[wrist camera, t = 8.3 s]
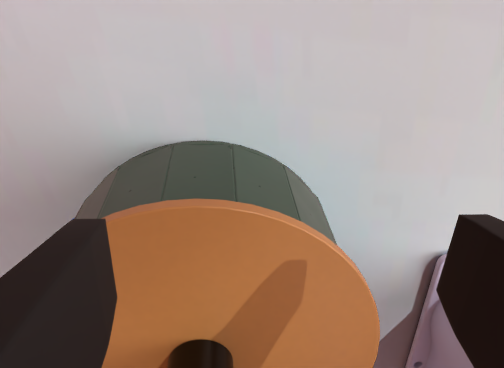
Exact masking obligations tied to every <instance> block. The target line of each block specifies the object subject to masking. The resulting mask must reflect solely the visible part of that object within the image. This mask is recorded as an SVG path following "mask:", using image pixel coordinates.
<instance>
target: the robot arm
mask: <svg viewBox="0 0 504 368" xmlns="http://www.w3.org/2000/svg"><path fill="white" fill-rule="evenodd" d="M116 303H117V291H116V285H115V278H114V272H113V265H112V258H111V252H110V245H109V239H108V232H107V226H106V219H73V220H71V221H70V222H69V223H67V224H66V225H65V226H63V227H62V228H61V229H60V230H58V231H57V232H56V233H55V234H54V235H52V236H51V237H50V238H49V239H47V240H46V241H45V242H44V243H43V244H41V245H40V246H39V247H38V248H37V249H35V250H34V251H33V252H32V253H31V254H29V255H28V256H27V257H26V258H24V259H23V260H22V261H21V262H19V263H18V264H17V265H16V266H14V267H13V268H12V269H11V270H9V271H8V272H7V273H6V274H4V275H3V276H2V277H1V278H0V368H102V365H103V362H104V359H105V356H106V352H107V349H108V346H109V341H110V336H111V331H112V326H113V321H114V315H115V309H116ZM405 368H504V221H502V220H500V219H497V218H495V217H492V216H490V215H487V214H483V215H459V217H458V220H457V223H456V227H455V230H454V233H453V236H452V240H451V243H450V246H449V249H448V253H447V254H444V255H442V256H441V257H440V258H439V259H438V260H437V263H436V266H435V269H434V273H433V276H432V279H431V283H430V286H429V290H428V293H427V296H426V300H425V303H424V306H423V310H422V313H421V316H420V320H419V323H418V327H417V330H416V333H415V337H414V340H413V343H412V347H411V350H410V353H409V357H408V360H407V364H406V367H405Z"/></svg>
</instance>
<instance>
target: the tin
mask: <svg viewBox="0 0 504 368" xmlns="http://www.w3.org/2000/svg"><path fill="white" fill-rule="evenodd" d="M181 199H216V200H228V201H234V202H241V203H247V204H253V205H256V206H260V207H263V208H267V209H270V210H274V211H277V212H280V213H282V214H285V215H287V216H289V217H292V218H294V219H296V220H299V221H301V222H303V223H305V224H306V225H308V226H310V227H311V228H313V229H315V230H317V231H318V232H320V233H322V234H323V235H325V236H326V237H327V238H328V239H330V240H331V241H332V242H333V243H335V244H336V241H335V239H334V236H333V234H332V231H331V229H330V226H329V224H328V221H327V219H326V216H325V214H324V211H323V209H322V206H321V204H320V201H319V199H318V197H317V196H316V195H315V194H314V193H312V191H311V190H310V188H309V187H308V186H307V185H306V184H305V183H304V182H303V180H302V179H301V178H300V177H299V176H297V175H296V174H295V173H294V172H293V171H292V170H290V169H289V168H288V167H287V166H285V165H283V164H282V163H280V162H279V161H277V160H275V159H274V158H272V157H270V156H268V155H265V154H263V153H261V152H259V151H256V150H253V149H250V148H247V147H244V146H241V145H236V144H230V143H225V142H215V141H191V142H181V143H175V144H170V145H165V146H162V147H158V148H155V149H152V150H149V151H146V152H144V153H142V154H140V155H138V156H136V157H133V158H131V159H130V160H128V161H127V162H125V163H124V164H122V165H120V166H119V167H117V168H116V169H115V170H114V171H113V172H111V173H110V174H109V175H108V176H107V177H106V178H104V180H103V181H102V182H101V183H100V184H99V185H98V187H97V188H96V189H95V190H94V191H93V193H92V194H91V195H90V196H89V197H88V198H87V199H86V200H85V201H84V203H83V205H82V207H81V209H80V211H79V213H78V215H77V217H76V219H101V218H103V217H106V216H108V215H110V214H113V213H116V212H119V211H122V210H126V209H129V208H132V207H136V206H139V205H144V204H150V203H155V202H161V201H167V200H181ZM336 245H337V244H336Z"/></svg>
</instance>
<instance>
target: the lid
mask: <svg viewBox="0 0 504 368" xmlns="http://www.w3.org/2000/svg"><path fill="white" fill-rule="evenodd" d="M101 219H106V226H107V232H108V239H109V245H110V252H111V258H112V265H113V272H114V278H115V285H116V291H117V303H116V309H115V315H114V321H113V326H112V331H111V336H110V341H109V346H108V349H107V352H106V356H105V359H104V362H103V365H102V368H373V366H374V363H375V360H376V357H377V353H378V346H379V340H380V326H379V317H378V312H377V308H376V303H375V301H374V299H373V296H372V294H371V292H370V289H369V287H368V285H367V283H366V280H365V279H364V277H363V276H362V274H361V272H360V271H359V269H358V268H357V266H356V265H355V263H354V262H353V261H352V260H351V259H350V258H349V257H348V256H347V255H346V254H345V253H344V251H343V250H342V249H341V248H340V247H338V246H337V245H336V244H335V243H333V242H332V241H331V240H330V239H328V238H327V237H326V236H325V235H323V234H322V233H320V232H318V231H317V230H315V229H313V228H311V227H310V226H308V225H306V224H305V223H303V222H301V221H299V220H296V219H294V218H292V217H289V216H287V215H285V214H282V213H280V212H277V211H274V210H270V209H267V208H263V207H260V206H256V205H253V204H247V203H241V202H234V201H228V200H216V199H181V200H167V201H161V202H155V203H150V204H144V205H139V206H136V207H132V208H129V209H126V210H122V211H119V212H116V213H113V214H110V215H108V216H106V217H103V218H101Z"/></svg>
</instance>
